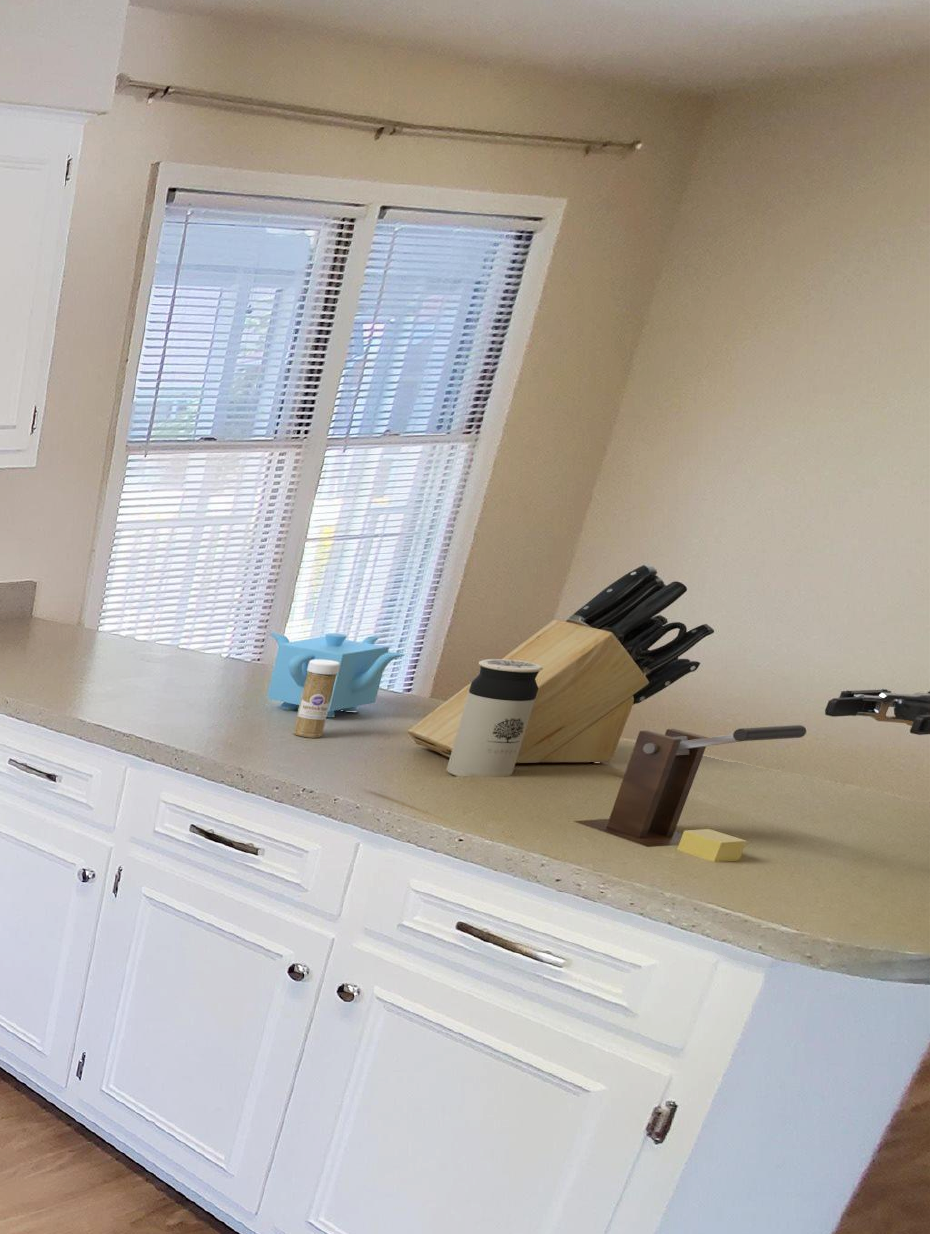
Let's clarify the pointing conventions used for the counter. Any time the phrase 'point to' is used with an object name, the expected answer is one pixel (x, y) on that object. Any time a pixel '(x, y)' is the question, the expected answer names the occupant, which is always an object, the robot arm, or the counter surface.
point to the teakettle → (352, 680)
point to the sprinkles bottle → (316, 698)
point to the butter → (711, 845)
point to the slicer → (653, 790)
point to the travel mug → (494, 718)
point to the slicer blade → (742, 737)
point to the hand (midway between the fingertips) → (872, 716)
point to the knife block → (588, 673)
